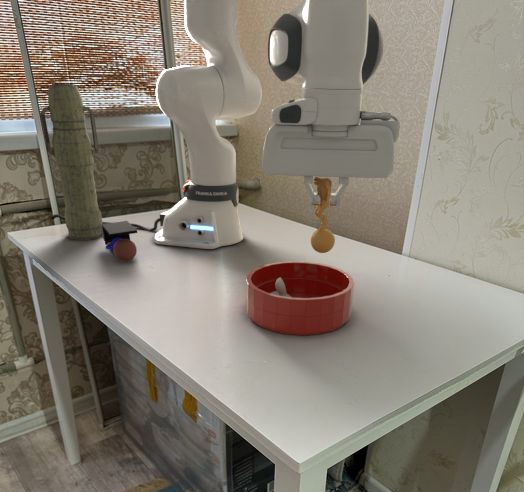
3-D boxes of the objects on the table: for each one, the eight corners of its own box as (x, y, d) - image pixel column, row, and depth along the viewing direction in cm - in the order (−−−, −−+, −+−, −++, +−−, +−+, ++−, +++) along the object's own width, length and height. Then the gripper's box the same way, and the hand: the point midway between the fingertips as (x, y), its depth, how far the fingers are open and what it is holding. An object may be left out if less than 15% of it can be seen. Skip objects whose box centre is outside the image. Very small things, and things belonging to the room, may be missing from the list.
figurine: (309, 253, 89) (289, 185, 85) (341, 242, 89) (322, 173, 85) (320, 258, 81) (298, 183, 77) (356, 246, 81) (335, 170, 77)
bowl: (240, 333, 84) (240, 297, 81) (251, 291, 100) (251, 259, 97) (354, 338, 83) (358, 302, 79) (346, 295, 99) (349, 263, 96)
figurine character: (101, 252, 124) (113, 264, 111) (96, 221, 121) (108, 230, 109) (129, 249, 127) (143, 260, 114) (124, 218, 124) (139, 226, 111)
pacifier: (296, 301, 94) (265, 303, 93) (298, 269, 91) (266, 271, 90) (309, 318, 88) (276, 320, 87) (312, 284, 85) (278, 286, 84)
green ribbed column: (60, 233, 133) (32, 83, 117) (105, 228, 138) (86, 83, 121) (64, 242, 126) (36, 84, 110) (112, 237, 131) (92, 84, 114)
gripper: (398, 110, 77) (386, 202, 84) (264, 108, 79) (263, 199, 85) (405, 113, 72) (391, 211, 78) (261, 110, 73) (260, 207, 80)
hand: (323, 205), depth 82 cm, fingers closed on figurine, 2 cm apart
